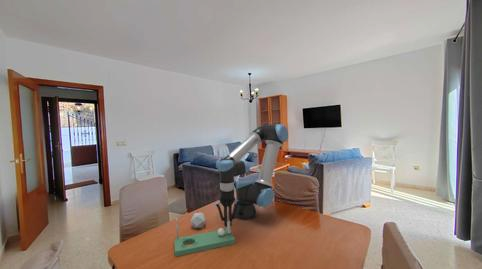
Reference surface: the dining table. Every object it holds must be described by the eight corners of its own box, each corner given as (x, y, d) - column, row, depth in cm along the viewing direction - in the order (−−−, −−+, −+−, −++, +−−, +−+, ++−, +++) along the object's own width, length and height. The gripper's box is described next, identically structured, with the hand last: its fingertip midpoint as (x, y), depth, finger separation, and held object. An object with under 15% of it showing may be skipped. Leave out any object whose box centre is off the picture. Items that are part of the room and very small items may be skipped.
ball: (224, 232, 115) (223, 225, 115) (225, 236, 111) (225, 229, 111) (216, 234, 114) (216, 227, 114) (218, 238, 110) (218, 230, 110)
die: (198, 233, 121) (208, 217, 124) (186, 225, 123) (195, 209, 125) (201, 231, 130) (210, 216, 132) (189, 223, 131) (198, 208, 133)
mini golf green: (229, 232, 120) (228, 208, 119) (235, 243, 109) (234, 217, 108) (174, 243, 111) (173, 217, 110) (175, 256, 100) (173, 228, 99)
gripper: (236, 185, 118) (237, 226, 119) (213, 188, 114) (215, 230, 115) (240, 189, 111) (241, 233, 112) (216, 193, 106) (217, 237, 108)
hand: (228, 231), depth 114 cm, fingers closed
